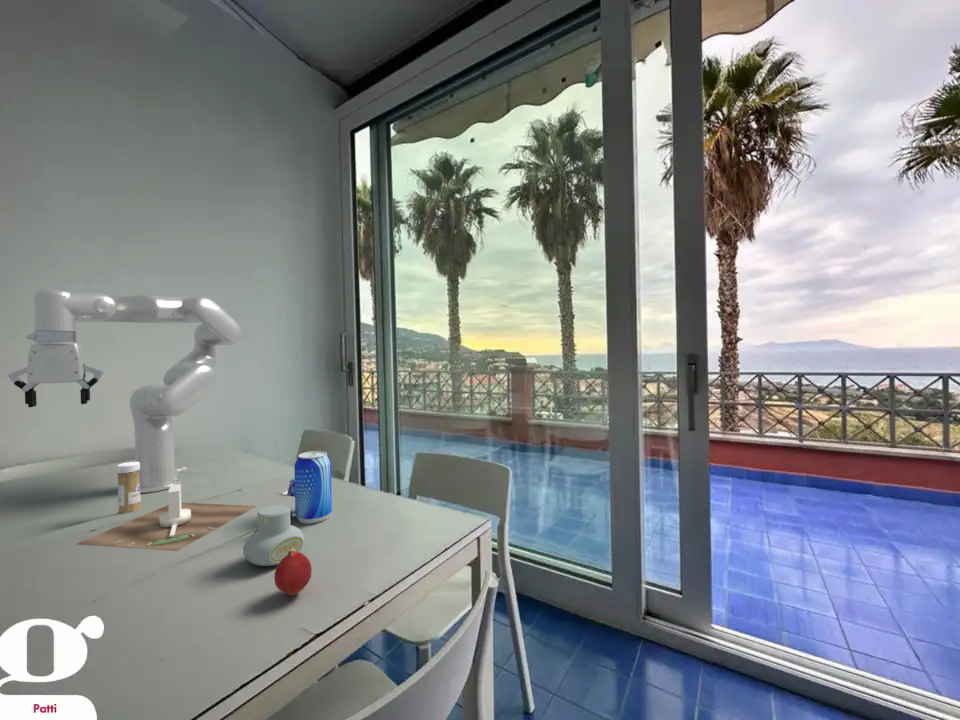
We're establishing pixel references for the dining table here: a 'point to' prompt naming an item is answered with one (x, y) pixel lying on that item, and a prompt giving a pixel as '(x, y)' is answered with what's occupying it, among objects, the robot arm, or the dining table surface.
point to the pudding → (291, 489)
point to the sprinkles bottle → (128, 487)
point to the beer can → (313, 487)
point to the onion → (293, 573)
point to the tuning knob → (174, 510)
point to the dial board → (168, 528)
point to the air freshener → (272, 537)
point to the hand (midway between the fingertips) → (59, 405)
